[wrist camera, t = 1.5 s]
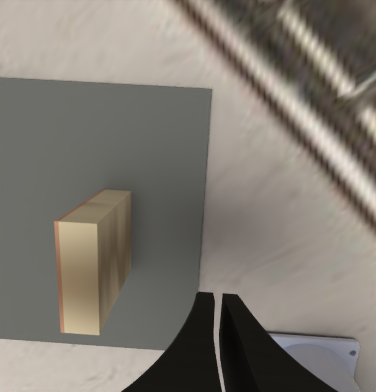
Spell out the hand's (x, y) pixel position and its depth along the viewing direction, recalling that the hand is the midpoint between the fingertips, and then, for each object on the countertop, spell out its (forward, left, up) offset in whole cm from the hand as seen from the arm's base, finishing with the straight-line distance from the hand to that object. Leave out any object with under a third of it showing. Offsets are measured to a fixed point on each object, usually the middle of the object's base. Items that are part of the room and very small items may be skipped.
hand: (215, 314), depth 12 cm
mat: (0, +8, -9) cm, 13 cm away
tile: (0, +6, -9) cm, 11 cm away
